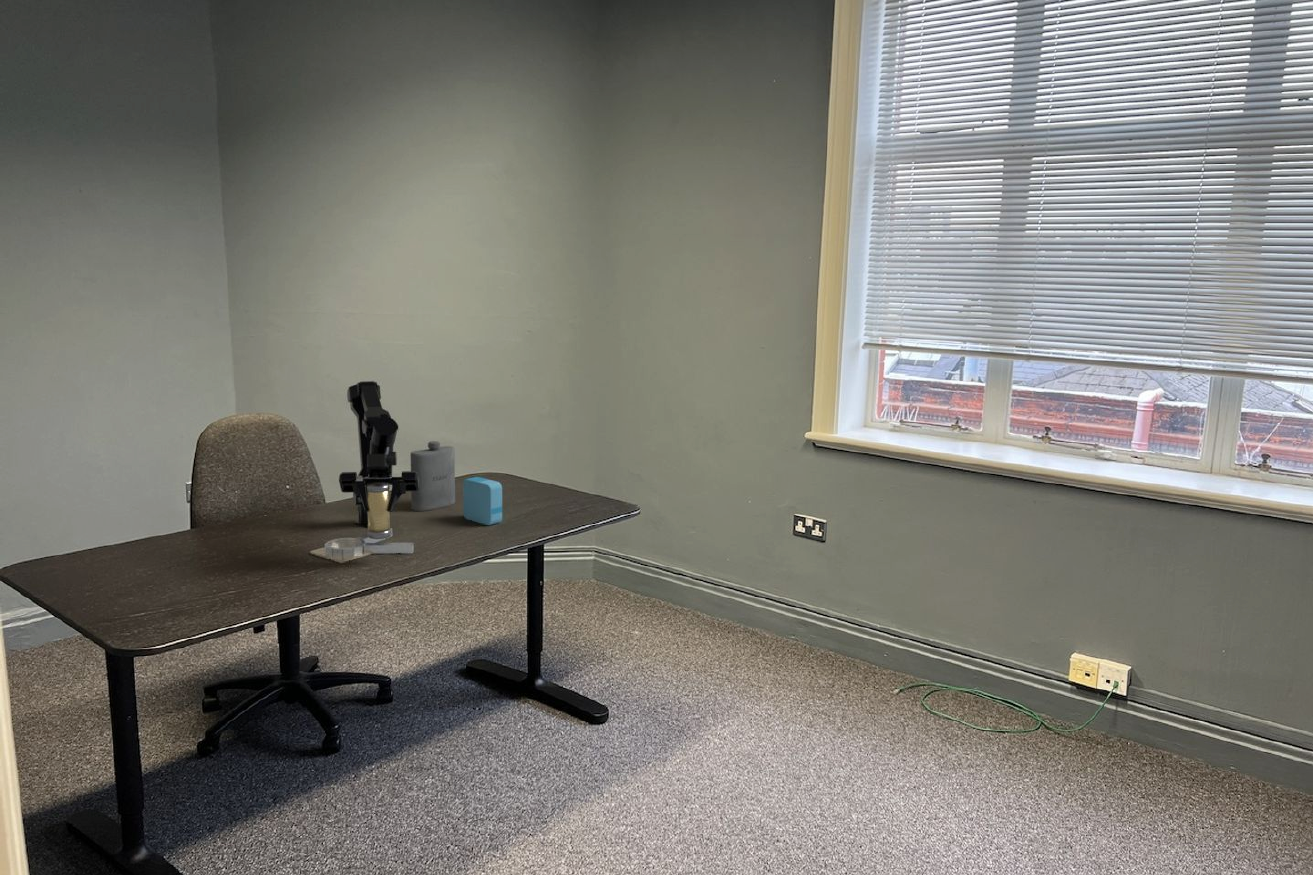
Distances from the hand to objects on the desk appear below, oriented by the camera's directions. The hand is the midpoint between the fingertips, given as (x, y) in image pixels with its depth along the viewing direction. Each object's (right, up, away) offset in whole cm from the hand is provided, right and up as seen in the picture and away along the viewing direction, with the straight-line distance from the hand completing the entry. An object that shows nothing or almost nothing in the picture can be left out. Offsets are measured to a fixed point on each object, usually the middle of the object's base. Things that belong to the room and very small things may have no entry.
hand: (378, 511), depth 226 cm
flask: (+1, -3, +55) cm, 55 cm away
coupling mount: (-5, -11, +12) cm, 17 cm away
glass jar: (0, -6, +3) cm, 7 cm away
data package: (+18, -6, +41) cm, 46 cm away
